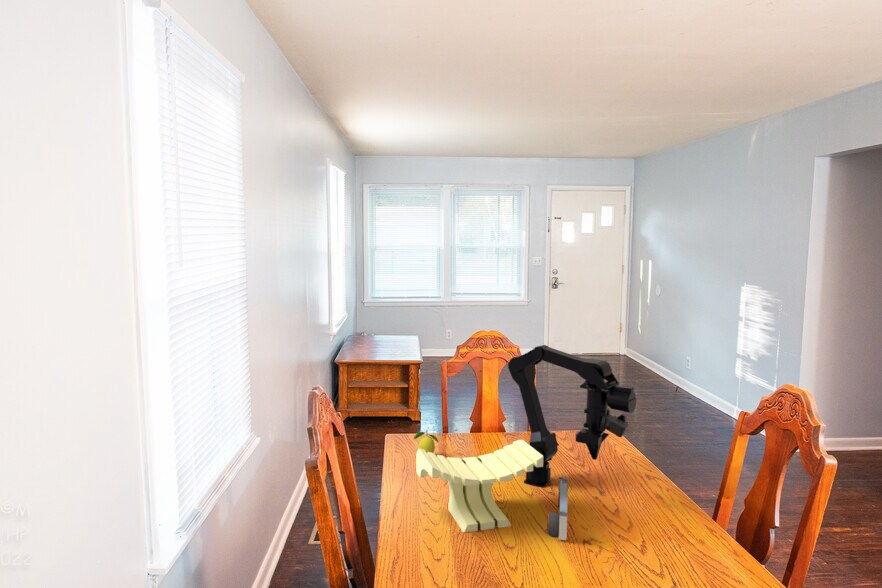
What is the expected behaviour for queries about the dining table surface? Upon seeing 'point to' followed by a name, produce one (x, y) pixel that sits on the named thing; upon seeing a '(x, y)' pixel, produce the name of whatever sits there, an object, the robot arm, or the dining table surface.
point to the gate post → (561, 480)
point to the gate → (563, 512)
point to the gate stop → (553, 524)
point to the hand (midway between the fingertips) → (594, 459)
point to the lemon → (426, 442)
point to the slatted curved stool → (478, 481)
